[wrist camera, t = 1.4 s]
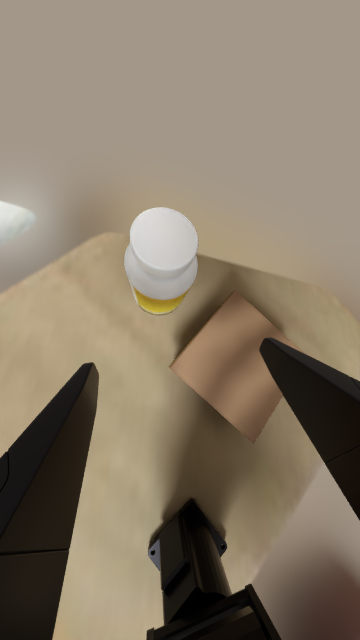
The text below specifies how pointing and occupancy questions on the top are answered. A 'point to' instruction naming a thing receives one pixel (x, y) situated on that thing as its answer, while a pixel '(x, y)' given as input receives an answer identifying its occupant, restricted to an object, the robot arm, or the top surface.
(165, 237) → the pill bottle
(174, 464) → the top surface
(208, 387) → the small wooden stand
